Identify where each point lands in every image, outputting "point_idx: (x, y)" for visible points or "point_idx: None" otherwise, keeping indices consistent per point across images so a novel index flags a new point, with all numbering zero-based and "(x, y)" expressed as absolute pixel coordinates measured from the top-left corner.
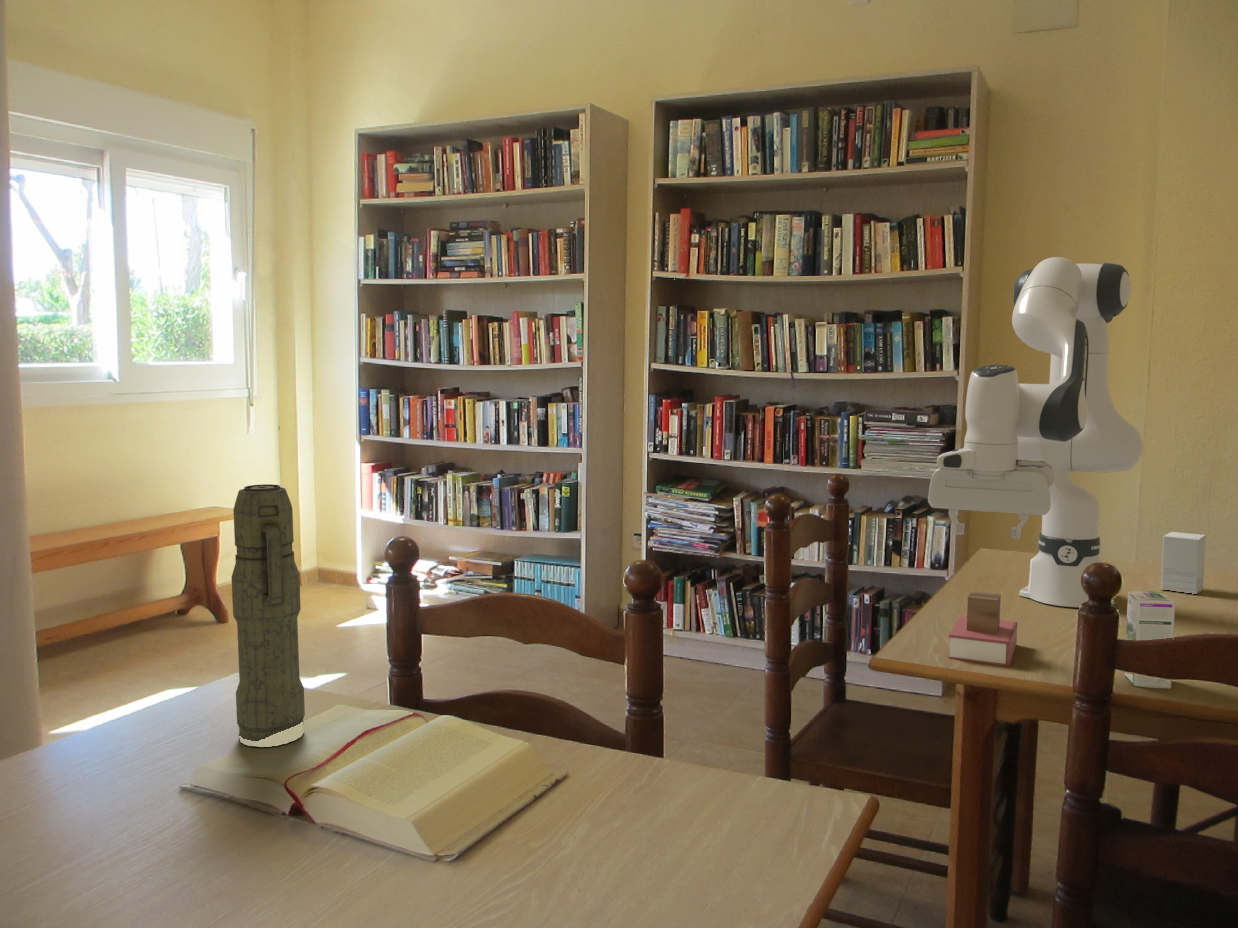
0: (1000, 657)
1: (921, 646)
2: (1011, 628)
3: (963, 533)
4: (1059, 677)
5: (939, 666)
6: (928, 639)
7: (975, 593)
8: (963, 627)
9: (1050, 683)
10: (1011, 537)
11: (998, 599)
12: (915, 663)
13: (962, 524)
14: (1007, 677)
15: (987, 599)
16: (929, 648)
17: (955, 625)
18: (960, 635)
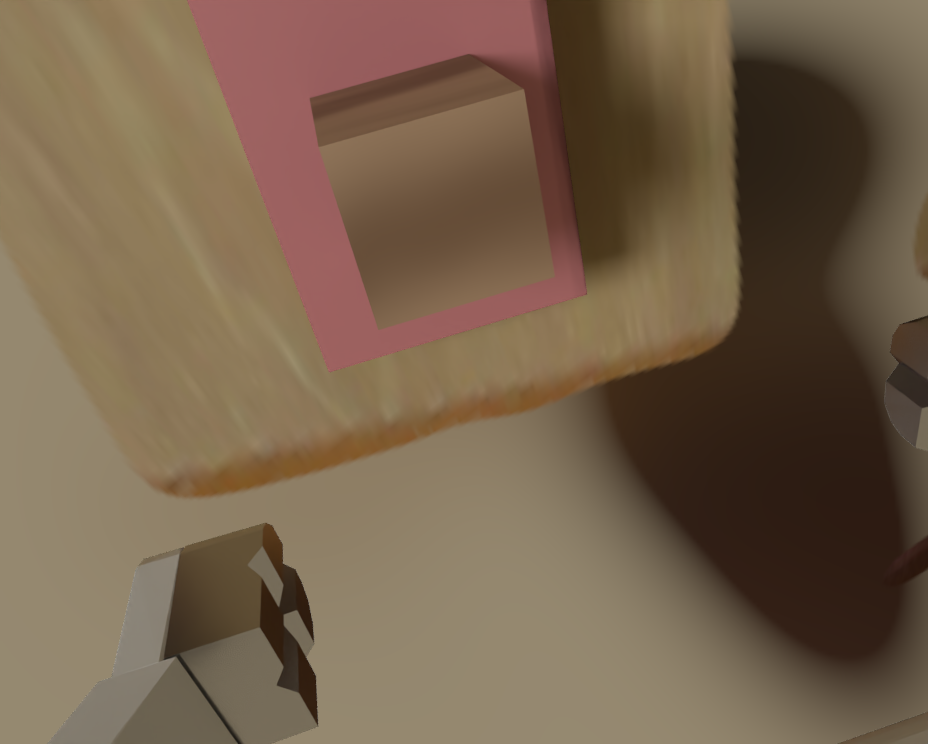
0: None
1: (139, 243)
2: (534, 46)
3: (281, 547)
4: (727, 256)
5: (347, 427)
6: (81, 99)
7: (375, 202)
8: (322, 211)
9: (706, 336)
10: (900, 420)
11: (549, 246)
12: (263, 455)
13: (274, 688)
14: (577, 375)
15: (493, 292)
16: (186, 247)
17: (270, 202)
18: (375, 350)
